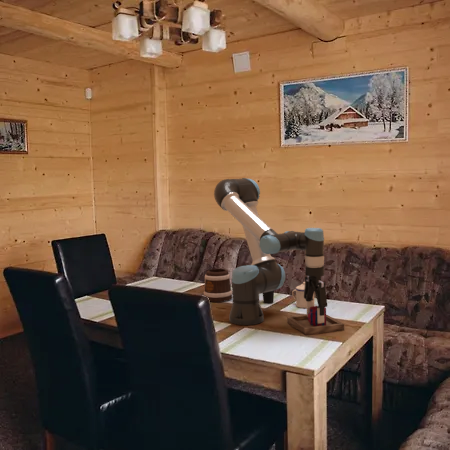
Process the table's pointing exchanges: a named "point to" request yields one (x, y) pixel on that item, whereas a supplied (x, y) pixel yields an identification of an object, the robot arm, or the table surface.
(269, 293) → the drinking cup
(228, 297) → the mug
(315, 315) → the cup
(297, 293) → the teacup with lid
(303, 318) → the walnut tray
